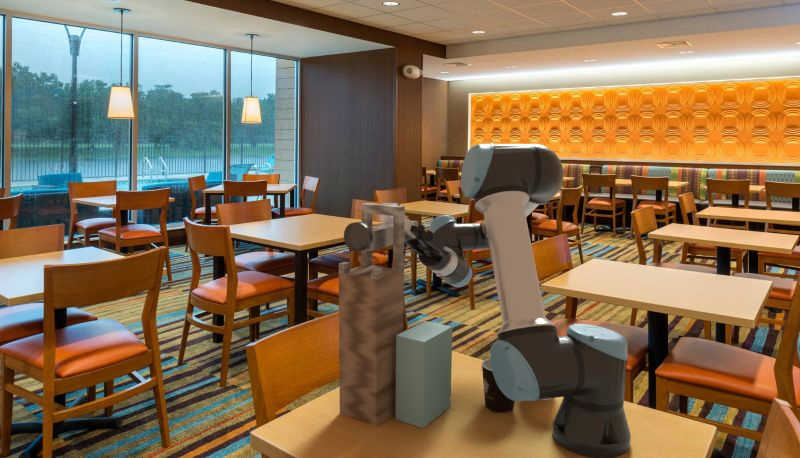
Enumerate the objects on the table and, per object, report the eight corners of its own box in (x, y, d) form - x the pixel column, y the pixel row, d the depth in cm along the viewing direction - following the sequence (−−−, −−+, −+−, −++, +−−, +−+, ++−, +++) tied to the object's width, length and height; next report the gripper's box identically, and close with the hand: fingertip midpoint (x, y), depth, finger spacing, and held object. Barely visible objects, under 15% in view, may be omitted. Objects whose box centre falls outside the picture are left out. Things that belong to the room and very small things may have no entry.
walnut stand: (402, 408, 134) (404, 206, 126) (376, 426, 125) (377, 211, 118) (366, 397, 139) (367, 202, 132) (339, 413, 131) (338, 207, 123)
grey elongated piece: (421, 238, 138) (422, 213, 137) (366, 253, 120) (366, 224, 119) (400, 235, 141) (400, 210, 140) (343, 249, 124) (343, 221, 123)
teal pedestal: (450, 406, 135) (452, 326, 132) (422, 428, 125) (424, 342, 122) (424, 398, 139) (425, 320, 135) (395, 418, 129) (396, 335, 126)
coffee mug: (518, 416, 130) (520, 373, 129) (479, 412, 132) (480, 370, 130) (518, 394, 141) (520, 354, 140) (482, 390, 143) (483, 351, 141)
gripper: (463, 275, 146) (421, 240, 127) (405, 266, 155) (358, 232, 136) (471, 247, 148) (431, 208, 129) (413, 239, 157) (368, 203, 138)
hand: (393, 221), depth 133 cm, fingers closed on grey elongated piece, 4 cm apart
